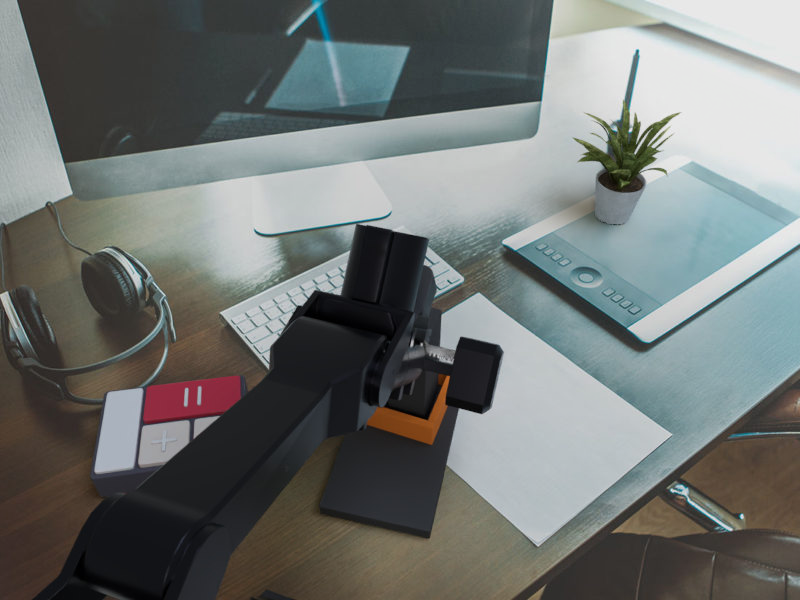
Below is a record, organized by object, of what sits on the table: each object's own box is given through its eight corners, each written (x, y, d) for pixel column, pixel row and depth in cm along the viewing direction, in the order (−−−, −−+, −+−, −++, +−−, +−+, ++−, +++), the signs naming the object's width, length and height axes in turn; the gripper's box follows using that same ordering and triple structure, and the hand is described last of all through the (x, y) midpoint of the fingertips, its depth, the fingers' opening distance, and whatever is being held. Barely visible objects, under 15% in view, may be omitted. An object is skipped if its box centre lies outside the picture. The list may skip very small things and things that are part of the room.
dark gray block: (423, 427, 69) (426, 346, 60) (388, 417, 70) (385, 335, 61) (437, 392, 72) (442, 309, 63) (403, 382, 73) (403, 300, 64)
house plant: (615, 174, 106) (638, 78, 94) (683, 216, 97) (719, 116, 86) (548, 203, 100) (565, 105, 89) (615, 250, 92) (643, 149, 80)
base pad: (429, 539, 62) (430, 516, 59) (320, 514, 64) (315, 490, 61) (463, 387, 75) (465, 361, 72) (371, 370, 77) (369, 344, 74)
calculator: (246, 453, 65) (86, 475, 62) (251, 476, 67) (99, 498, 65) (244, 369, 72) (102, 386, 70) (249, 393, 75) (112, 410, 73)
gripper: (510, 286, 50) (521, 295, 65) (290, 240, 54) (349, 259, 70) (479, 427, 50) (497, 403, 65) (262, 370, 55) (327, 360, 70)
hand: (415, 352), depth 67 cm, fingers open, 9 cm apart
